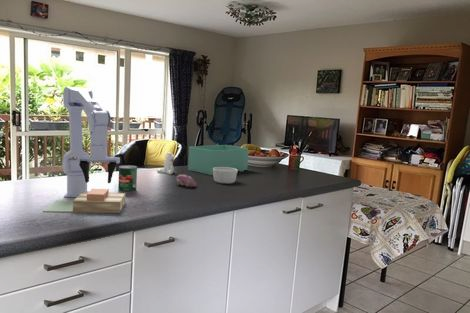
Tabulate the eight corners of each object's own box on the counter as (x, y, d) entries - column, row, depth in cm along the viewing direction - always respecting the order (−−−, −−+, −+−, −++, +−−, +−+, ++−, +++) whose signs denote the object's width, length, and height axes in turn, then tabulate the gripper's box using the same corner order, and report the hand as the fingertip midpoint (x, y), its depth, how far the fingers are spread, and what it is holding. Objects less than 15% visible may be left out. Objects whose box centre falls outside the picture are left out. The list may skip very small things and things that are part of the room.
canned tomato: (117, 192, 168) (118, 167, 167) (118, 188, 176) (118, 165, 174) (136, 192, 170) (137, 168, 169) (136, 188, 178) (137, 165, 177)
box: (247, 170, 248) (248, 148, 246) (211, 175, 224) (212, 150, 222) (223, 166, 261) (224, 144, 260) (188, 170, 238) (189, 146, 236)
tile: (92, 193, 148) (92, 188, 147) (108, 194, 149) (108, 189, 148) (86, 199, 139) (86, 194, 139) (103, 199, 140) (104, 194, 139)
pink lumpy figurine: (176, 187, 193) (173, 176, 189) (182, 182, 196) (178, 171, 193) (192, 190, 188) (189, 179, 184) (197, 185, 191) (194, 173, 188)
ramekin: (232, 179, 216) (233, 166, 215) (240, 184, 203) (240, 171, 202) (209, 179, 212) (210, 166, 211) (215, 184, 199) (216, 171, 198)
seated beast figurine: (156, 172, 221) (156, 152, 220) (164, 170, 229) (165, 150, 228) (170, 174, 218) (171, 153, 216) (178, 172, 226) (179, 152, 224)
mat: (56, 201, 149) (56, 200, 149) (82, 201, 151) (82, 200, 150) (43, 211, 134) (42, 210, 134) (71, 212, 136) (71, 211, 136)
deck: (82, 202, 150) (82, 191, 150) (125, 202, 152) (125, 193, 152) (72, 212, 136) (73, 200, 136) (119, 212, 139) (119, 202, 138)
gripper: (74, 145, 132) (74, 183, 134) (117, 146, 134) (117, 185, 136) (79, 142, 139) (79, 180, 141) (121, 144, 141) (120, 181, 143)
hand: (98, 182), depth 139 cm, fingers open, 7 cm apart
